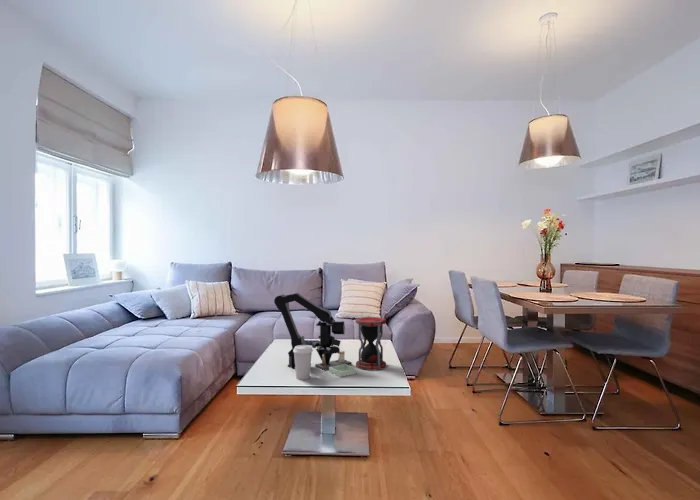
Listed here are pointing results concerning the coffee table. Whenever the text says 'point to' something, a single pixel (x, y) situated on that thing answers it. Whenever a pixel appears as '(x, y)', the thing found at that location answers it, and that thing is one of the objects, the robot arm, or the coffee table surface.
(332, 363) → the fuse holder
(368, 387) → the coffee table surface
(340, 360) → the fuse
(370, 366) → the hourglass
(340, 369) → the parts tray
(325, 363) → the fuse
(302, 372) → the coffee cup
